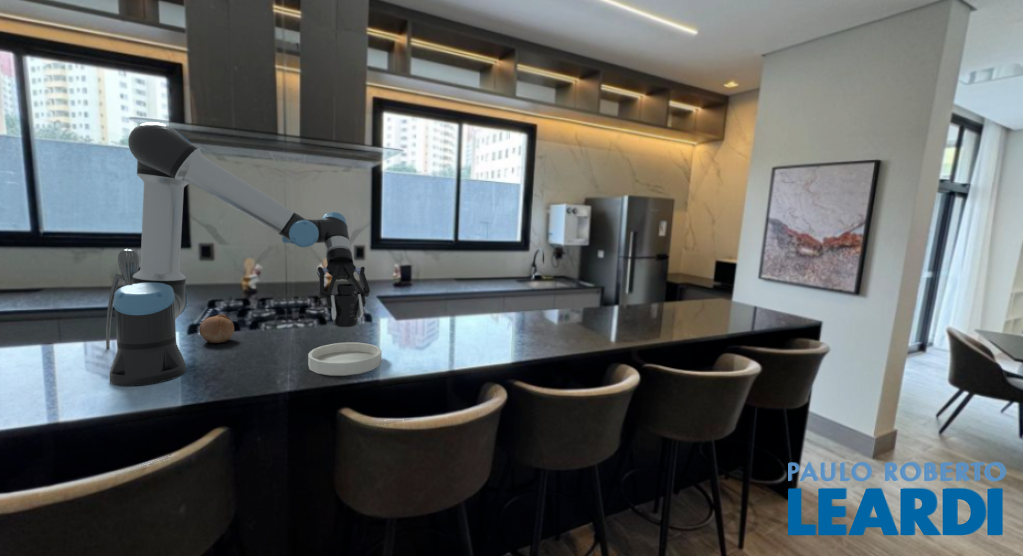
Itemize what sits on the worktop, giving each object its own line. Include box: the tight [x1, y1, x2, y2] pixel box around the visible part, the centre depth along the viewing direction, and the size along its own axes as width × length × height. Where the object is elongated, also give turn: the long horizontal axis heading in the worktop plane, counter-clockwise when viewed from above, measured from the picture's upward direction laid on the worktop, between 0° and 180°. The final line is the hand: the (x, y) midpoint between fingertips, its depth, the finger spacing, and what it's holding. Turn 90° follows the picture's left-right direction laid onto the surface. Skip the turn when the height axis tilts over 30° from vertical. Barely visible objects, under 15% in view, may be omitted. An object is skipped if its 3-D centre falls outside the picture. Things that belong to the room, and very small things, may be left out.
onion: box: [199, 313, 235, 344], centre depth 143 cm, size 10×9×10 cm
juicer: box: [105, 248, 140, 349], centre depth 132 cm, size 10×11×30 cm
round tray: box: [307, 342, 382, 376], centre depth 130 cm, size 20×20×4 cm
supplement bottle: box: [332, 283, 359, 328], centre depth 127 cm, size 7×7×12 cm
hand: (348, 315), depth 125 cm, fingers closed on supplement bottle, 7 cm apart
